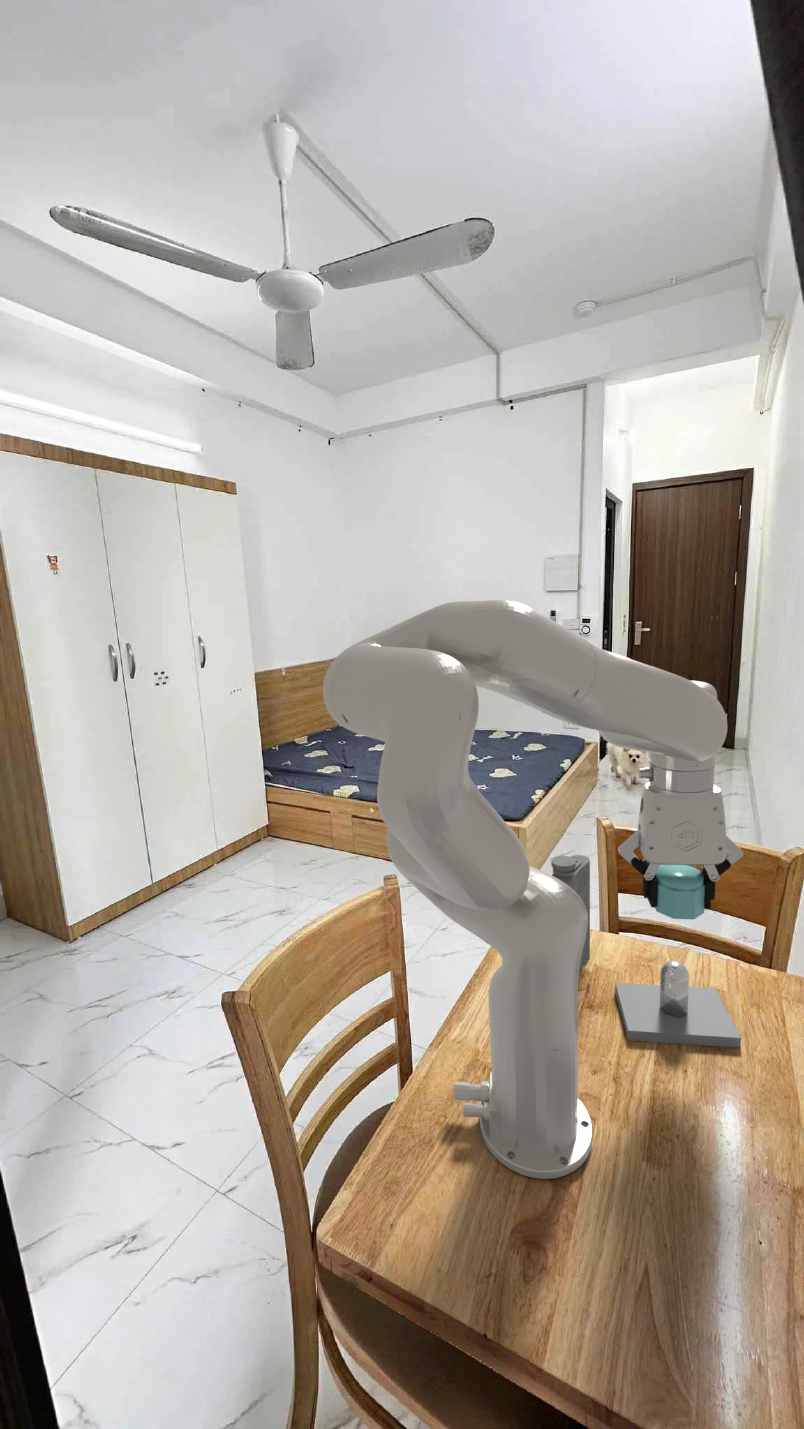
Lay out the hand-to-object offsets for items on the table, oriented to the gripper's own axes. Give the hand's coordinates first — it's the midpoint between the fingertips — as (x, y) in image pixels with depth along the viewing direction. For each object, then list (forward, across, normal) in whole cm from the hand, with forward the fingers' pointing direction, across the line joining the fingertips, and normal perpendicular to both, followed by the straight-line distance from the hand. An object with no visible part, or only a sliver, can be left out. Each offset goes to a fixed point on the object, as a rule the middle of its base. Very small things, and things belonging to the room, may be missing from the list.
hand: (677, 901), depth 80 cm
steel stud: (+16, 0, 0) cm, 16 cm away
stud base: (+18, 0, 0) cm, 18 cm away
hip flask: (+18, -14, +8) cm, 24 cm away
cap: (+1, 0, 0) cm, 1 cm away
